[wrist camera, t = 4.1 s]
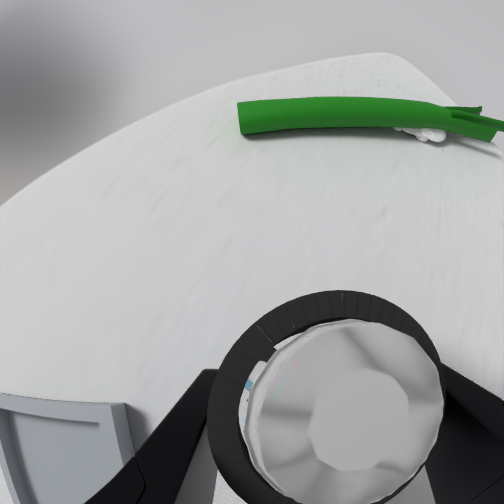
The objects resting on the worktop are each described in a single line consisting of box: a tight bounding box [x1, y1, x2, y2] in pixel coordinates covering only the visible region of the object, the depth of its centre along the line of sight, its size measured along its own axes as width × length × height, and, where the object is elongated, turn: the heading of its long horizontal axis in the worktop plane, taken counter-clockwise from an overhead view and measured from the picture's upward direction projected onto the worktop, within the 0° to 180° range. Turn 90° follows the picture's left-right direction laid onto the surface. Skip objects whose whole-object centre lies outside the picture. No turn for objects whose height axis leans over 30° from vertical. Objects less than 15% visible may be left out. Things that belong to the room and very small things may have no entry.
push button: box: [207, 290, 446, 504], centre depth 8 cm, size 7×5×10 cm
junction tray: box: [0, 393, 135, 504], centre depth 11 cm, size 12×12×2 cm
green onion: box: [237, 97, 504, 143], centre depth 20 cm, size 5×3×30 cm
